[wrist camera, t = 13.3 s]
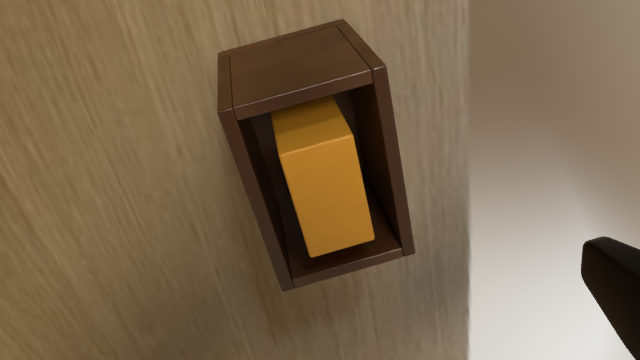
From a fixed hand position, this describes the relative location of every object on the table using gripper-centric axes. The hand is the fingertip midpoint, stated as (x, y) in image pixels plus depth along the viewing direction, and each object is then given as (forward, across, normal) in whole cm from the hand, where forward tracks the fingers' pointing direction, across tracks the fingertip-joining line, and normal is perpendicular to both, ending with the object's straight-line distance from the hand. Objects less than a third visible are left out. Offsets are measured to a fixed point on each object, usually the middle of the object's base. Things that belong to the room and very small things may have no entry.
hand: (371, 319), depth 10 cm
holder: (+10, 0, 0) cm, 10 cm away
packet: (+9, 0, 0) cm, 9 cm away
